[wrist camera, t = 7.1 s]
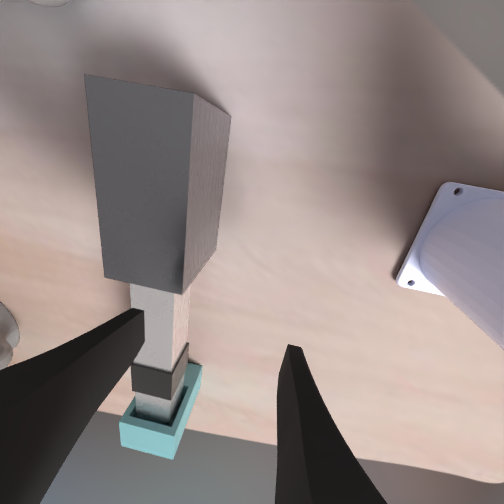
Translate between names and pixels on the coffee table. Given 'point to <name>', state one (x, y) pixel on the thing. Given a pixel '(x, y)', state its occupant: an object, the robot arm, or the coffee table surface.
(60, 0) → the pale two-lobed sculpture
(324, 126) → the coffee table surface
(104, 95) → the graphite sleeve
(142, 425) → the teal socket
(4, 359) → the coffee mug
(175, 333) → the metal square rod
